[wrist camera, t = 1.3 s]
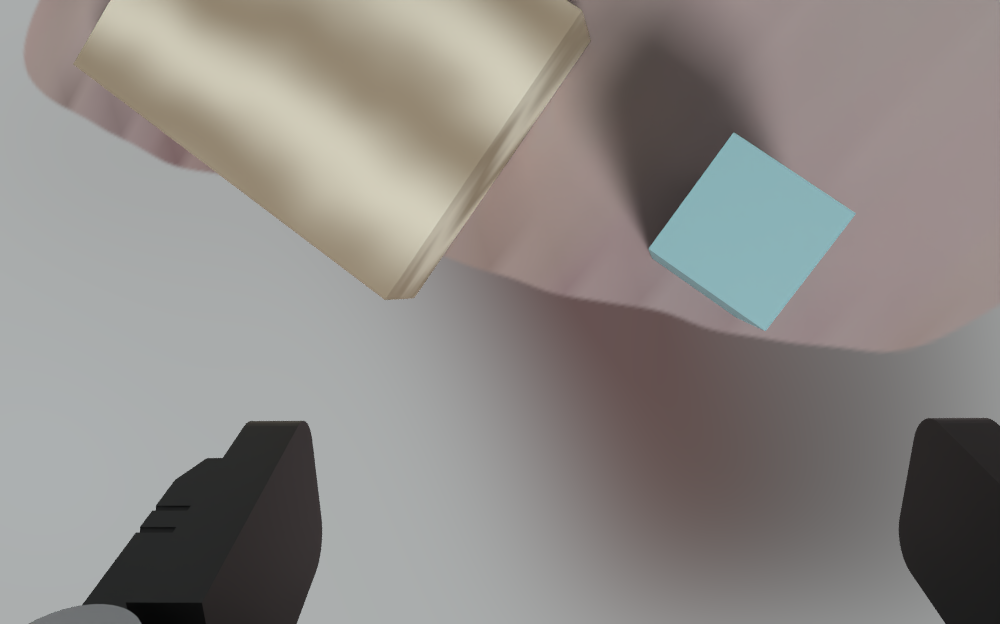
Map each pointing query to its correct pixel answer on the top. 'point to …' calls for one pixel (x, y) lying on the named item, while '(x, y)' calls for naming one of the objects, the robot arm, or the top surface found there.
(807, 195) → the teal block
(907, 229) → the top surface
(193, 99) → the birch plinth
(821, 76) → the top surface
